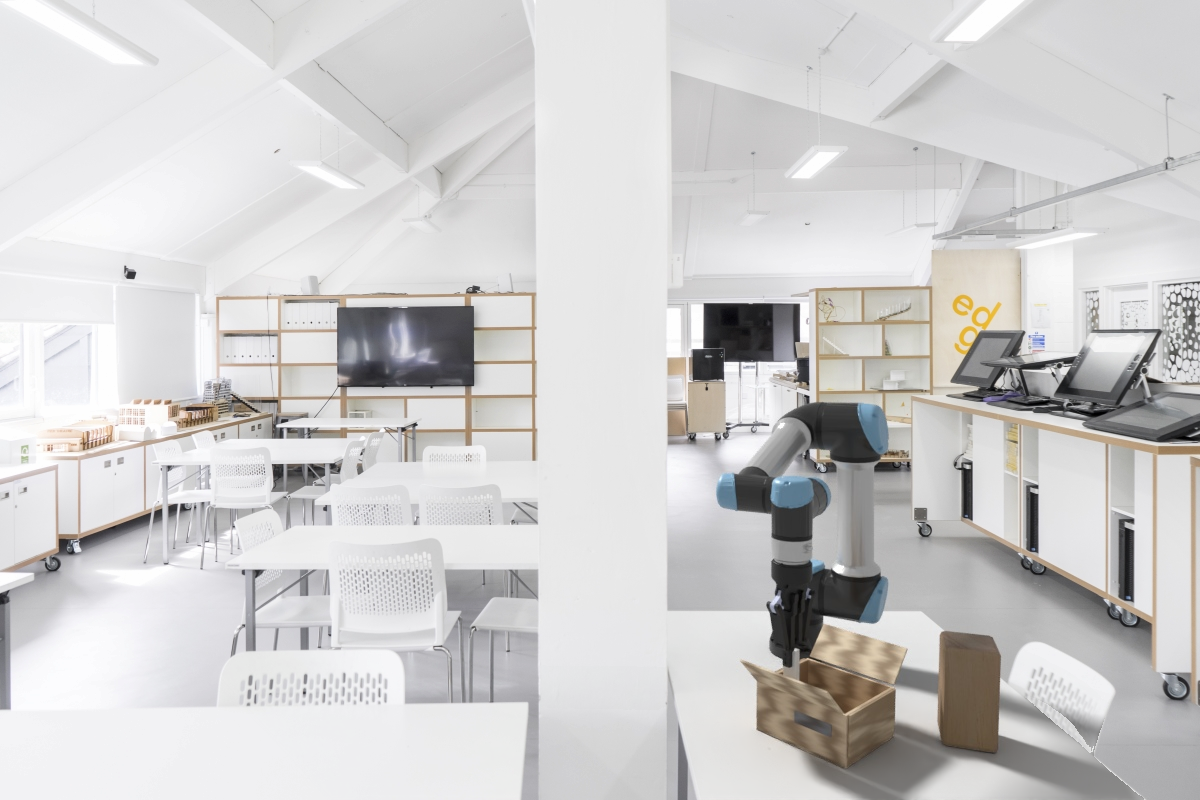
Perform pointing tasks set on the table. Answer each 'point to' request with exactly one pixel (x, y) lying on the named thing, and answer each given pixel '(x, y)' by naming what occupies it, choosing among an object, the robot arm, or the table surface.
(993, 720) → the wooden block
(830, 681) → the carton
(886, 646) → the flap far
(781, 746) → the table surface
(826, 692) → the flap near
